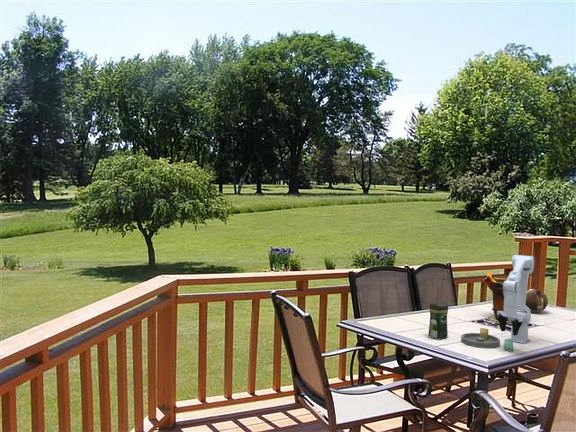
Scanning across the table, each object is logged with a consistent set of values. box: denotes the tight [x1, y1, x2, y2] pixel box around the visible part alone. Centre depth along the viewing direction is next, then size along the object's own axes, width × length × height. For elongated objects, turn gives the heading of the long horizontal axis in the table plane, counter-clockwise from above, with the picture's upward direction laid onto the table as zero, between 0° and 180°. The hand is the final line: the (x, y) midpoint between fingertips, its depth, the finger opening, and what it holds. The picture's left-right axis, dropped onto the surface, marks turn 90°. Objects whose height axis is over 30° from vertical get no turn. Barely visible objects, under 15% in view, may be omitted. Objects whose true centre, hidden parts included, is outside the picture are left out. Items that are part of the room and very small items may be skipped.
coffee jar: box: [428, 300, 449, 340], centre depth 278 cm, size 10×8×19 cm
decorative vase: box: [483, 271, 512, 324], centre depth 318 cm, size 21×23×28 cm
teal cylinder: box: [503, 338, 514, 353], centre depth 257 cm, size 4×4×5 cm
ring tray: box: [460, 332, 501, 349], centre depth 269 cm, size 18×18×2 cm
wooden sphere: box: [525, 288, 549, 314], centre depth 340 cm, size 15×15×15 cm
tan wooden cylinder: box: [479, 327, 489, 340], centre depth 273 cm, size 4×4×5 cm
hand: (509, 333), depth 257 cm, fingers open, 7 cm apart
